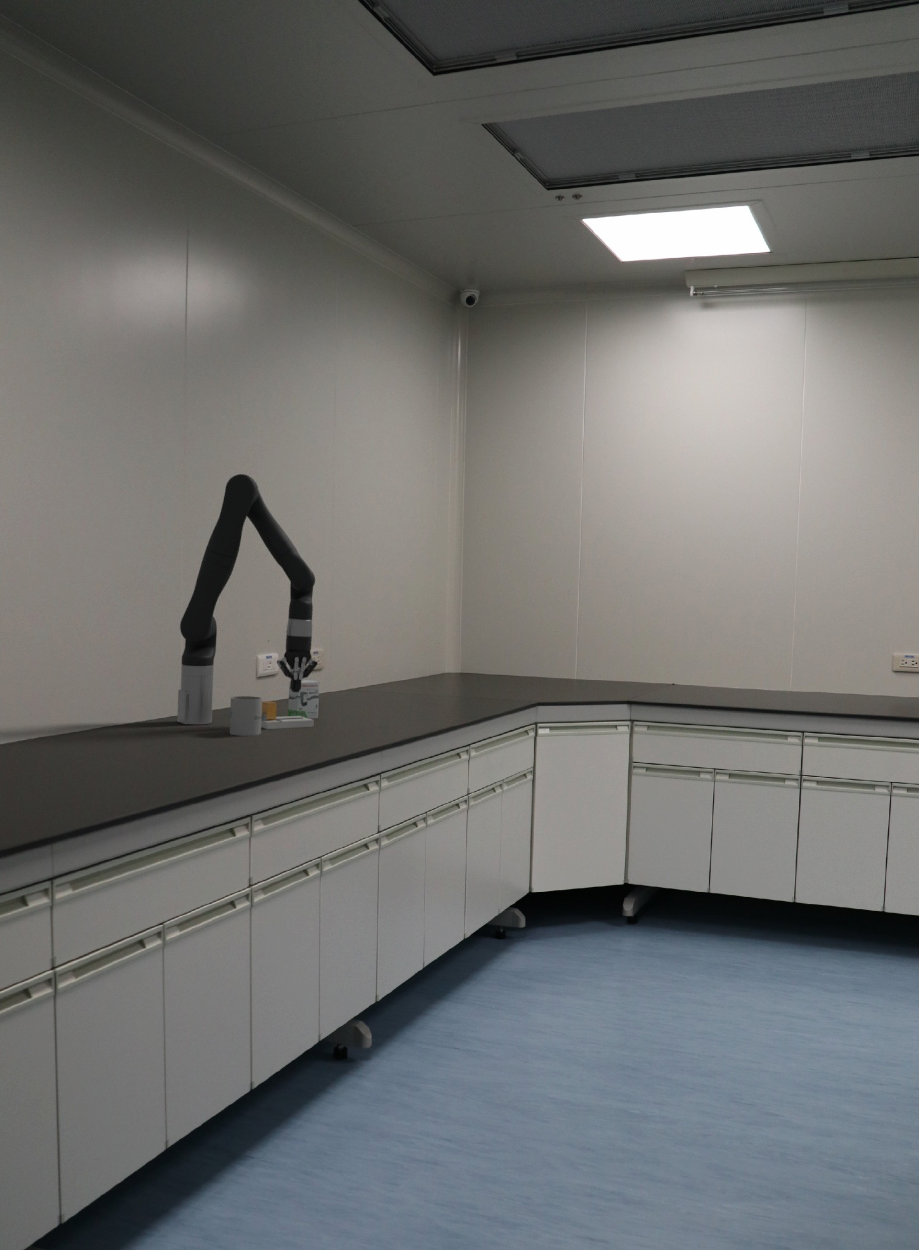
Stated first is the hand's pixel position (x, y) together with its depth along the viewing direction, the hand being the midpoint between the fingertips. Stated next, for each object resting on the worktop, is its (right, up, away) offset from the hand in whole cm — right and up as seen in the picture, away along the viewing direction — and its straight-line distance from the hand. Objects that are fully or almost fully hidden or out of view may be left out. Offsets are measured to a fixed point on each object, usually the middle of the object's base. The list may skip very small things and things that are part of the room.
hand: (295, 691), depth 313 cm
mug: (-10, -11, -18) cm, 23 cm away
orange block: (-7, -8, -5) cm, 12 cm away
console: (-3, -10, -2) cm, 11 cm away
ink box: (0, -10, +16) cm, 19 cm away
